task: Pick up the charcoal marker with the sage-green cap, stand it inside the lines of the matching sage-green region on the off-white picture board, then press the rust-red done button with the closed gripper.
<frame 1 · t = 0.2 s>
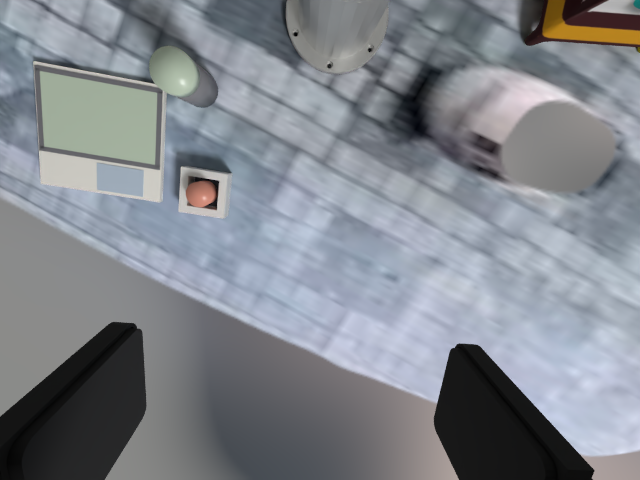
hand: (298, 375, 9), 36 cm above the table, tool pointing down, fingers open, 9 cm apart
picture board: (104, 136, 41), on the table
marker: (200, 89, 40), on the table
done button: (202, 193, 40), point 3 cm above the table, slide at 0.0 cm
button housing: (208, 191, 43), on the table
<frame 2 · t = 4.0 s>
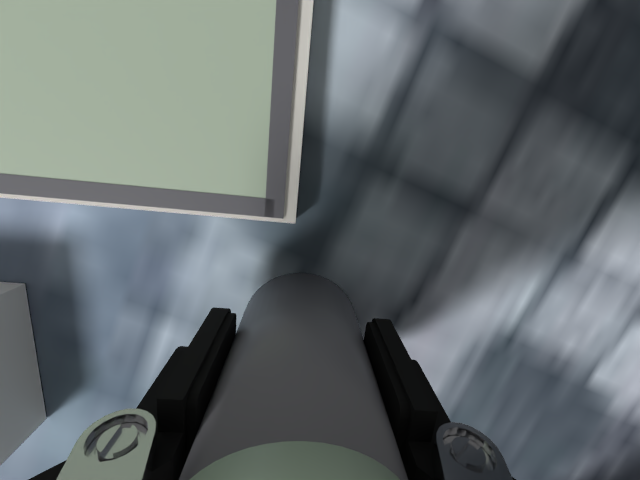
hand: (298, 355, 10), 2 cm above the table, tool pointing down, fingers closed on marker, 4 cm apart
marker: (300, 325, 12), on the table, touching gripper
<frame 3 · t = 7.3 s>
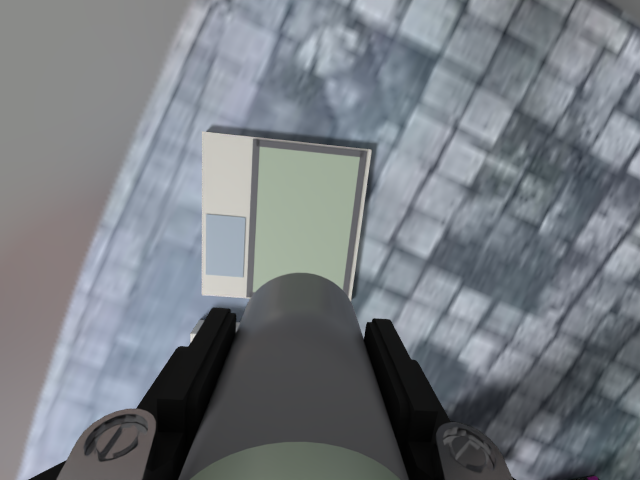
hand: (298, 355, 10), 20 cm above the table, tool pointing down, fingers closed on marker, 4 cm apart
picture board: (283, 224, 30), on the table
marker: (300, 325, 12), point 19 cm above the table, touching gripper
when the fingers open (4 cm above the table, at t = 10.6 s): marker stays where it is, resting on picture board.
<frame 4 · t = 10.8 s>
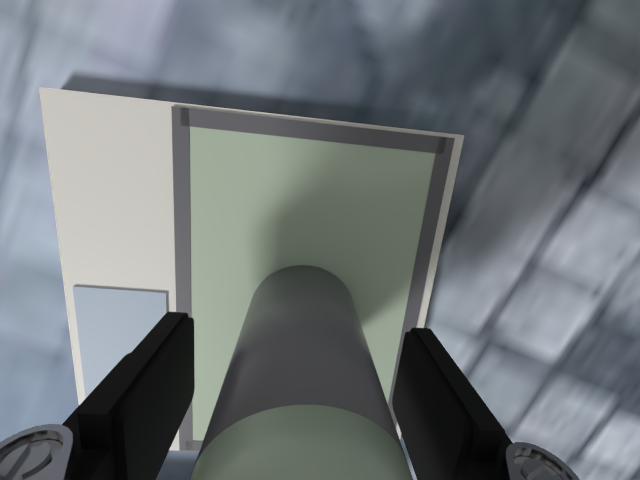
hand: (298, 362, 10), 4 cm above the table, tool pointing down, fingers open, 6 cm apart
picture board: (255, 300, 14), on the table
marker: (302, 314, 13), point 1 cm above the table, touching picture board
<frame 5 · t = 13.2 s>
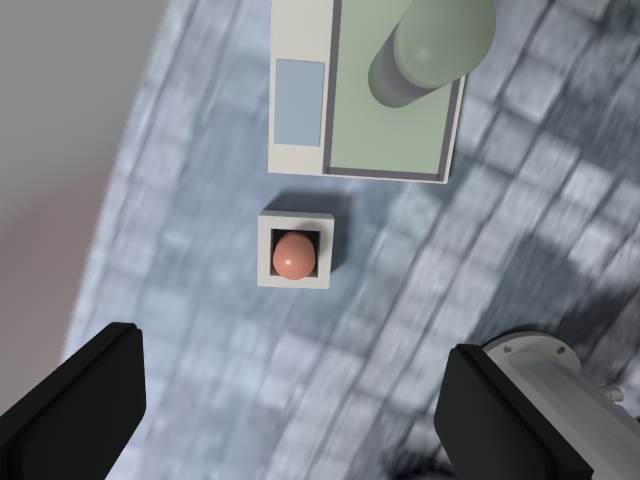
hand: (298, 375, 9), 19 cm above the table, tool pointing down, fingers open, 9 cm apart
picture board: (367, 77, 24), on the table
marker: (396, 76, 23), point 1 cm above the table, touching picture board
done button: (294, 254, 25), point 3 cm above the table, slide at 0.0 cm
button housing: (295, 244, 27), on the table
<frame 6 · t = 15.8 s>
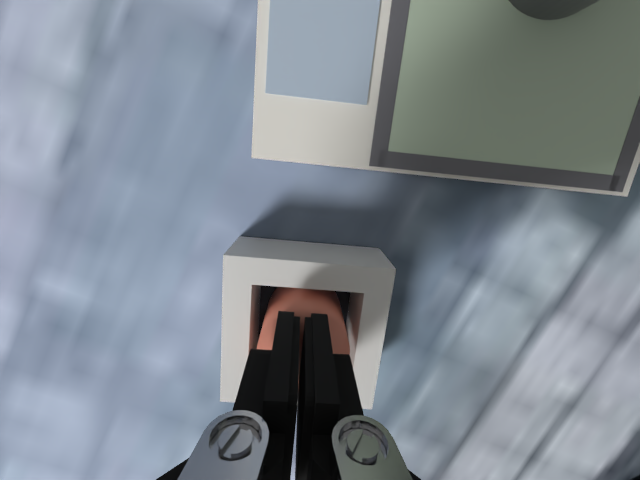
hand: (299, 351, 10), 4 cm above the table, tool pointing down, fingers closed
done button: (304, 329, 12), point 2 cm above the table, slide at 0.9 cm
button housing: (304, 305, 14), on the table
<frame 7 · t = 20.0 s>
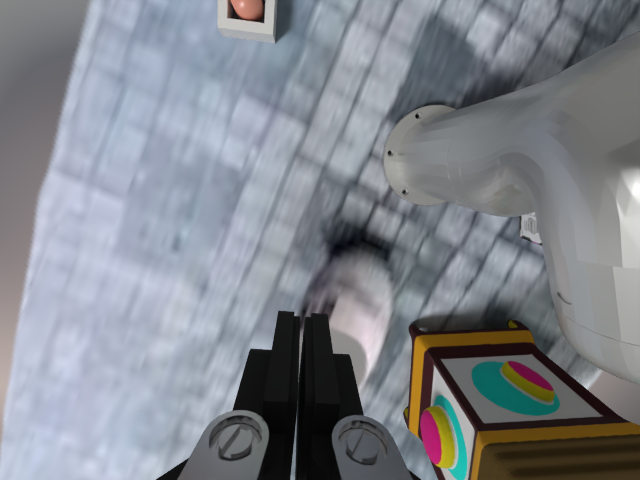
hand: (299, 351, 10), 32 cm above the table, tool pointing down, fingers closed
done button: (247, 2, 33), point 2 cm above the table, slide at 1.0 cm
candy bar box: (555, 215, 44), on the table
decorative lantern: (455, 366, 50), on the table
button housing: (250, 10, 35), on the table
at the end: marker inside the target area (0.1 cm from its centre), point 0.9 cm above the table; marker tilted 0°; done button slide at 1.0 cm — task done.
